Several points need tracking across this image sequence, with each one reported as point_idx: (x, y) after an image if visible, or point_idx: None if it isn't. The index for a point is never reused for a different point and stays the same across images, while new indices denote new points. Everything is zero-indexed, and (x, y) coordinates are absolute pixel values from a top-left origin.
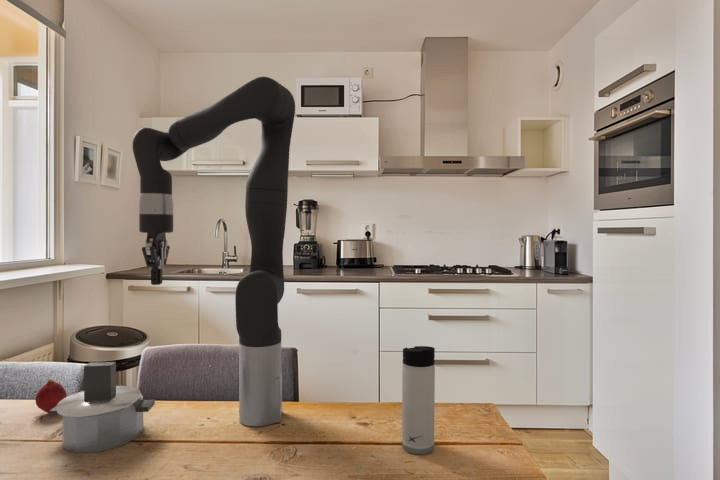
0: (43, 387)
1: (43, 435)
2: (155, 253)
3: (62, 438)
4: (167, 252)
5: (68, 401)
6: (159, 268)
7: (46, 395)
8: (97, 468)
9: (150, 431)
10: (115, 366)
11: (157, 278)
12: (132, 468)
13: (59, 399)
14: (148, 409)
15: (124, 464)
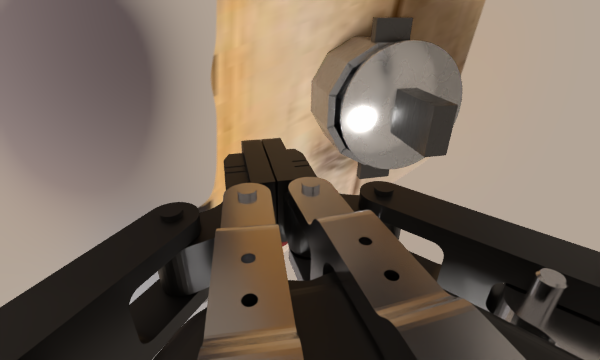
0: (285, 243)
1: (345, 176)
2: (531, 248)
3: None
4: (30, 323)
5: (403, 155)
6: (322, 183)
7: None
8: (457, 55)
9: (362, 20)
10: (430, 103)
11: (305, 161)
12: (473, 3)
13: None
14: (407, 17)
15: (458, 21)
